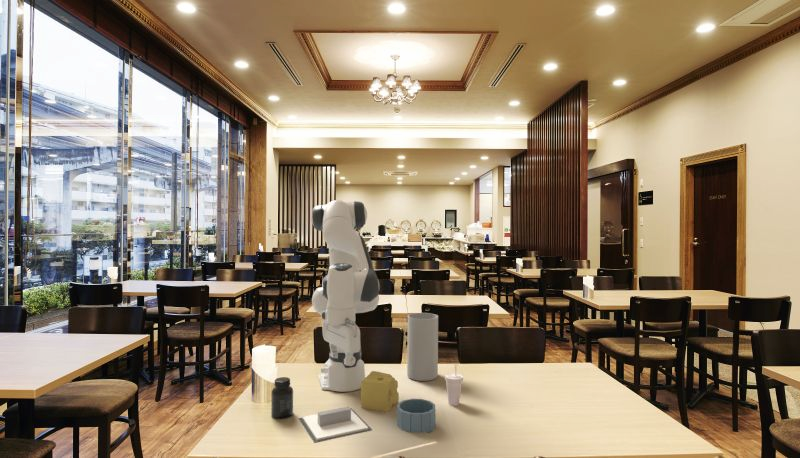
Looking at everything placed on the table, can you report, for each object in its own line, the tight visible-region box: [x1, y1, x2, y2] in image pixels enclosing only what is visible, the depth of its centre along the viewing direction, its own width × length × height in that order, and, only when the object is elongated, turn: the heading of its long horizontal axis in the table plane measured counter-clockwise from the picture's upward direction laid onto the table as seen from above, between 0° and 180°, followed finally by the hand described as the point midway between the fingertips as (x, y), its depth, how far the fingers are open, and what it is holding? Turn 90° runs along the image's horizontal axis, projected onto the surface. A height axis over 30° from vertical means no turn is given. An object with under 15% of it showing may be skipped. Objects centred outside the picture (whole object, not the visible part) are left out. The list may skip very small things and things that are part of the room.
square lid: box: [301, 406, 368, 440], centre depth 141 cm, size 16×16×4 cm
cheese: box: [360, 370, 400, 412], centre depth 156 cm, size 10×11×10 cm
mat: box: [298, 407, 373, 444], centre depth 141 cm, size 18×18×1 cm
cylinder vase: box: [406, 312, 439, 382], centre depth 186 cm, size 12×12×25 cm
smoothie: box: [444, 363, 464, 407], centre depth 158 cm, size 6×6×14 cm
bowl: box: [396, 398, 436, 434], centre depth 141 cm, size 12×12×6 cm
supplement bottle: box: [270, 376, 294, 420], centre depth 147 cm, size 7×7×12 cm
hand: (340, 360), depth 140 cm, fingers open, 8 cm apart
